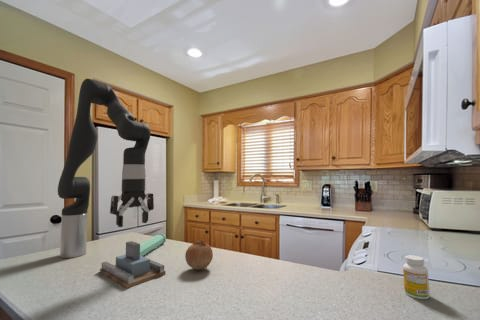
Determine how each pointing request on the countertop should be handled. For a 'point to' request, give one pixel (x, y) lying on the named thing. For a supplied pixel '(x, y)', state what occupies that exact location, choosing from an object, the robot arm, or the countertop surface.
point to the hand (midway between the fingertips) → (132, 224)
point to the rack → (129, 279)
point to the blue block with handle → (133, 260)
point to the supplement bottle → (416, 278)
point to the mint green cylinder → (152, 244)
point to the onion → (199, 255)
